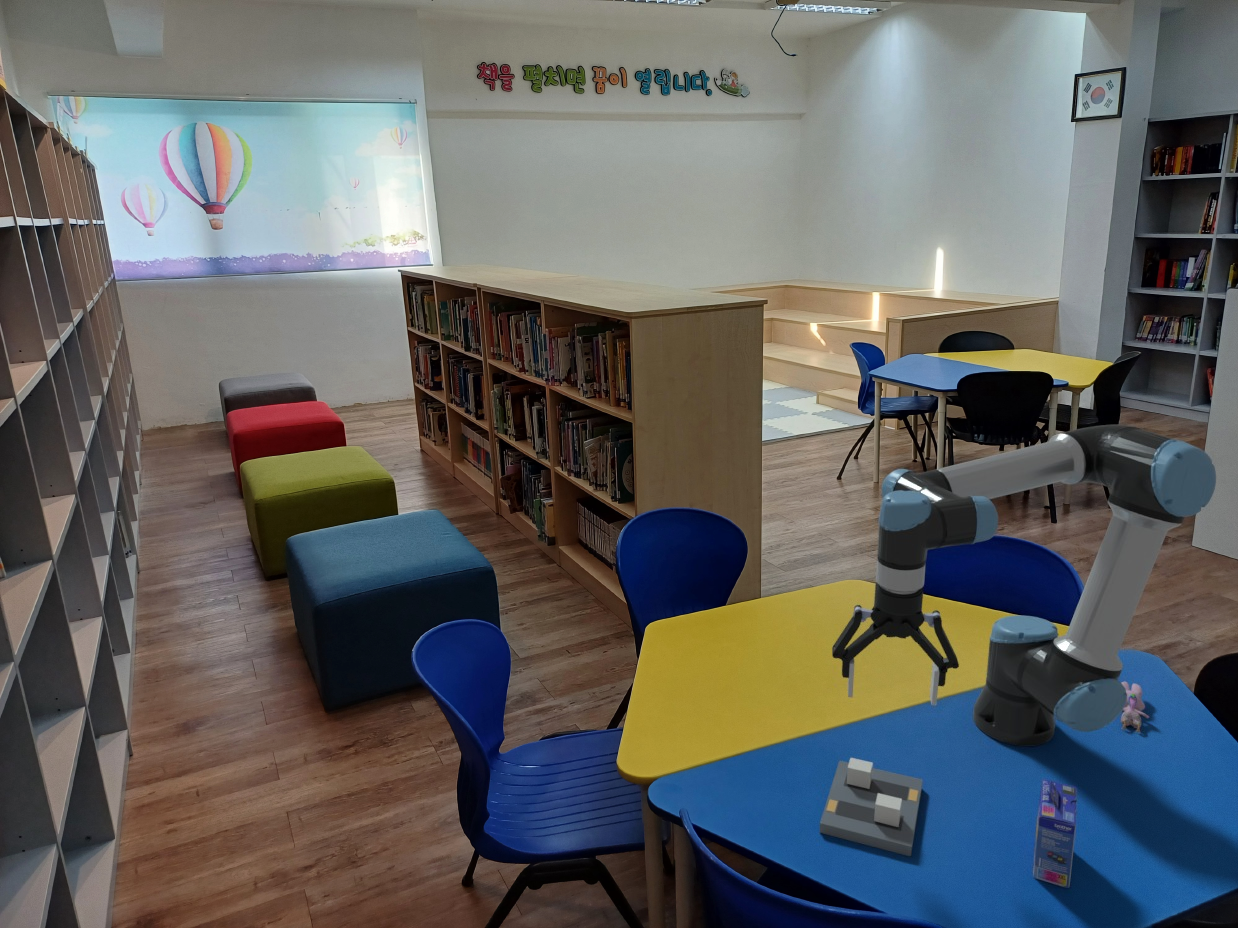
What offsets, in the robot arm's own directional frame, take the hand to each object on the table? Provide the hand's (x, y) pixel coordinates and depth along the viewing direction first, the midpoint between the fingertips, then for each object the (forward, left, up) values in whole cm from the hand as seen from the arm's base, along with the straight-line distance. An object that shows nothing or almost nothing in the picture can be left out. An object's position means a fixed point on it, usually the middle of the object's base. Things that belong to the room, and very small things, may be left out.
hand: (891, 696), depth 147 cm
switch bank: (+2, +2, -22) cm, 22 cm away
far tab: (+5, -2, -20) cm, 21 cm away
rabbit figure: (-43, -47, -23) cm, 67 cm away
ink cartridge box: (-27, +4, -23) cm, 35 cm away
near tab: (-1, +6, -20) cm, 21 cm away
